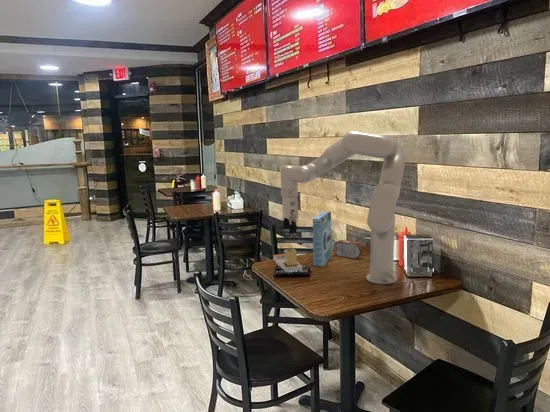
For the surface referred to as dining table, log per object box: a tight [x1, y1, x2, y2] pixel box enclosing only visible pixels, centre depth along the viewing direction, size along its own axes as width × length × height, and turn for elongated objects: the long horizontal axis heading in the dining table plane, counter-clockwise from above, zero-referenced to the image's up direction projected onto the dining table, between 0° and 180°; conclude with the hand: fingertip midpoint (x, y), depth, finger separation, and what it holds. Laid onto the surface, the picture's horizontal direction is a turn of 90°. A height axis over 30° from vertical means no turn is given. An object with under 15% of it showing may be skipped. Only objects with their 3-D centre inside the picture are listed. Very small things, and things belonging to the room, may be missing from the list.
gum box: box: [312, 211, 333, 267], centre depth 205 cm, size 20×5×23 cm, turn 160°
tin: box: [332, 239, 364, 260], centre depth 212 cm, size 15×3×8 cm, turn 58°
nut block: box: [283, 248, 298, 267], centre depth 193 cm, size 4×4×9 cm
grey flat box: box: [272, 253, 303, 272], centre depth 200 cm, size 22×8×3 cm, turn 14°
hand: (289, 230), depth 191 cm, fingers open, 9 cm apart
